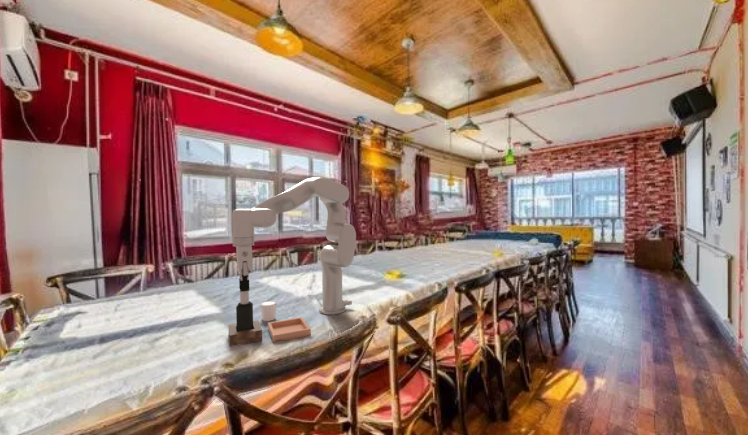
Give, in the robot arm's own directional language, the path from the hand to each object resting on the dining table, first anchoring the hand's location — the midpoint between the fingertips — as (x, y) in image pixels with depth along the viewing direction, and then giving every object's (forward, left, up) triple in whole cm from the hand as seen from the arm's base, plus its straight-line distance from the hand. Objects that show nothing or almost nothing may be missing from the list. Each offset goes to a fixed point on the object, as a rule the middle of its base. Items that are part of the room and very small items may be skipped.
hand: (244, 289), depth 117 cm
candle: (0, 0, -19) cm, 19 cm away
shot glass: (-11, -17, -19) cm, 28 cm away
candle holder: (0, 0, -19) cm, 19 cm away
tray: (-16, +2, -19) cm, 25 cm away
